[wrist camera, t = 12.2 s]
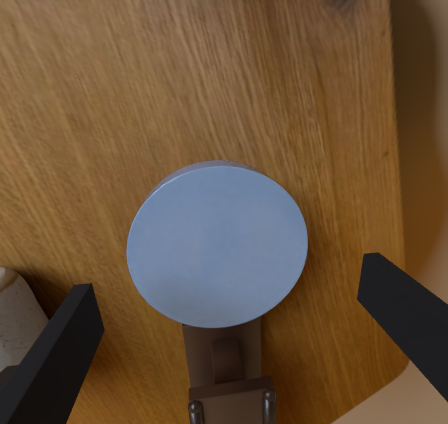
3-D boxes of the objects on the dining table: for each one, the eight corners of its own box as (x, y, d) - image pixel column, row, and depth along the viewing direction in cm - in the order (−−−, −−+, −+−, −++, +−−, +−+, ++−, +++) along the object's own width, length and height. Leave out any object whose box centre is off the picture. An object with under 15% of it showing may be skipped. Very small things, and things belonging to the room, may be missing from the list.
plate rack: (257, 307, 25) (284, 383, 18) (259, 419, 30) (280, 511, 23) (182, 317, 24) (179, 400, 17) (198, 430, 30) (200, 527, 23)
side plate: (299, 153, 16) (313, 158, 15) (293, 298, 20) (303, 316, 18) (118, 167, 15) (108, 174, 14) (147, 316, 19) (143, 338, 17)
